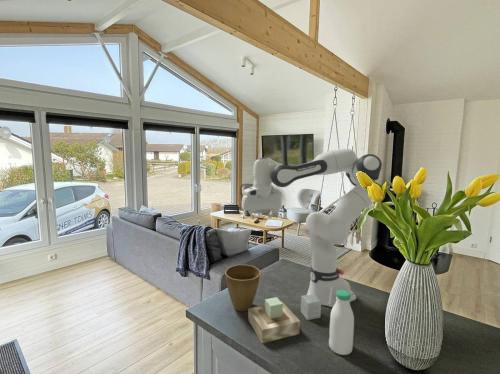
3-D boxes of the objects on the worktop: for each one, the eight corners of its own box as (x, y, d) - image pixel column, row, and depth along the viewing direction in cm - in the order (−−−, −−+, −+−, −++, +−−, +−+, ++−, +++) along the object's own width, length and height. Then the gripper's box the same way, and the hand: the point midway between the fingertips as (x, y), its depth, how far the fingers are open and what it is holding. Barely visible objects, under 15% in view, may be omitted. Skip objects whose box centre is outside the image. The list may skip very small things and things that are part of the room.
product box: (313, 309, 116) (314, 293, 115) (320, 318, 110) (321, 301, 109) (300, 311, 114) (300, 295, 113) (307, 320, 108) (307, 303, 108)
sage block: (276, 309, 107) (276, 297, 106) (282, 316, 102) (282, 303, 101) (264, 311, 105) (265, 299, 104) (270, 318, 100) (270, 306, 100)
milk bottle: (357, 353, 91) (360, 296, 88) (337, 358, 88) (340, 300, 86) (343, 338, 98) (346, 285, 96) (324, 342, 96) (326, 288, 93)
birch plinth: (282, 313, 113) (282, 301, 112) (299, 333, 100) (300, 320, 99) (248, 320, 108) (248, 307, 107) (262, 343, 95) (262, 329, 94)
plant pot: (218, 306, 118) (218, 270, 116) (244, 294, 128) (244, 261, 126) (240, 321, 107) (240, 283, 105) (266, 307, 117) (267, 272, 115)
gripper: (278, 189, 139) (277, 215, 141) (240, 190, 132) (240, 218, 134) (283, 190, 134) (283, 218, 135) (244, 192, 126) (244, 221, 128)
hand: (261, 218), depth 135 cm, fingers open, 8 cm apart
